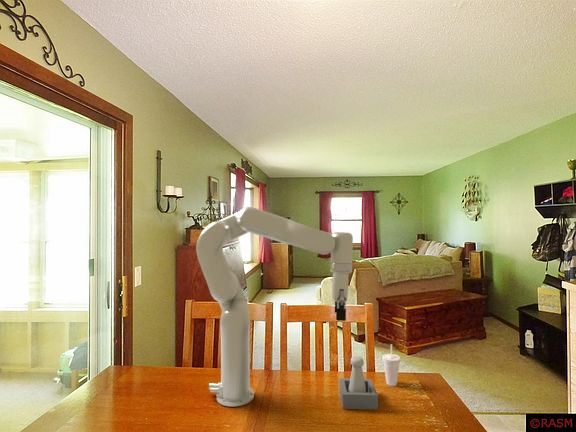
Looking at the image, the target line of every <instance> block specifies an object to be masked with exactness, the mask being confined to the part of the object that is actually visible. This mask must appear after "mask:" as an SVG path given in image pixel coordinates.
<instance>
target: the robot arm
mask: <svg viewBox="0 0 576 432" xmlns="http://www.w3.org/2000/svg"><path fill="white" fill-rule="evenodd" d="M248 233H251V234H254V235H256V236H260V237H264V238H267V239H269V240H273V241H276V242H279V243H281V244H285V245H289V246H294V247H297V248H300V249H304V250H307V251H310V252H314V253H316V254H319V255H329V254H330V267H329V268H330V269H329V270H330V272H331V273H333V274H332V285H331V286H332V287H331V290H332V291H331V292H332V293H331V298H332V301H333V302H334V313H335V314H336V316H335V317H336V318H335V319H336V321H337V322H338V321H341V322H343V321H345V322H346V320H347V308H346V307H347V306H346V303H347V302H348V298H349V296H348V295H349V274H351V273H352V272H353V243H354V242H353V241H354V240H353V239H354V238H353V235H352V233H350V232H342V231H339V232H338V231H336V232H327V231H324V230H320V229H317V228H314V227H312V226H309V225H306V224H302V223H299V222H296V221H294V220H293V219H289V218H287V217H285V216H284V217H283V216H280V215H278V214H274V213H271V212H268V211H265V210H262V209H258V208H256V207H253V206H246V207H244V208H242V209H241V210H239V211H238V212H237V211H236V212H235V213H234V214H231V215H229V216H227V217H224V218H221V219H220V220H216V221H213V222H211V223H209V224H208V225H207V226H205V228H204V229H203V230H202V231H201V233H200V235H199V237H198V239H197V242H196V248H195V249H196V256H197V260H198V263H199V266H200V268H201V271H202V274H203V277H204V278H205V281H206V284H207V287H208V290H209V293H210V295H211V297H212V298H213V299H214V300H215V301H217V302H218V305H219V307H220V309H221V314H220V319H219V321H220V322H219V325H220V327H219V329H220V382H218V383H215V382H213V383H212V382H211V383H210V382H209V385H208V390H209V391H210V393H216V401H217V403H218V404H219V405H222V406H225V407H229V408H230V407H231V408H232V407H233V408H234V407H241V406H244V405H247V404H249V403H250V402H252V401H253V399H254V397H255V391H254V389H253V388H252V387H250V386H251V385H250V381H251V380H250V372H251V371H250V324H251V323H250V320H251V319H250V308H249V304H248V301H247V298H246V296H245V294H244V292H243V288H242V286H241V284H240V281H239V279H238V277H237V276H236V274H235V273H234V272H233V271H231V270H230V267H229V265H228V262H227V259H226V257H225V255H224V249H223V248H224V246H225V245H226V244H228V243H229V242H231V241H233V240H235V239H237V238H239V237H242V236H244V235H246V234H248Z"/></svg>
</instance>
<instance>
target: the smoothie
mask: <svg viewBox="0 0 576 432" xmlns="http://www.w3.org/2000/svg"><path fill="white" fill-rule="evenodd" d="M381 359H382V361H383V368H384V375H385V383H386V385H387V386H390V387H396V386H397V384H398V379H399V377H398V376H399V369H400V363H401V357H400V356H399V355H398V354H394V353H393V344H391V343H390V353H385V354H383V355H382V358H381Z"/></svg>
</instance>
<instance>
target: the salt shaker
mask: <svg viewBox="0 0 576 432" xmlns="http://www.w3.org/2000/svg"><path fill="white" fill-rule="evenodd" d="M350 365H351V366H352V367H351V372H350V378H349V379H350V383H349V389H348V390H349V392H359V393H366V387H365V382H364V379H365V375H364V371H363V366H364V365H365V363H364V358H362V357H361V356H358V355H357V356H356V355H355V356H352V357H351V358H350Z"/></svg>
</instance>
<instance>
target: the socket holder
mask: <svg viewBox="0 0 576 432" xmlns="http://www.w3.org/2000/svg"><path fill="white" fill-rule="evenodd" d="M338 379H339V385H338V386H339V396H340V401H341V406H342V409H343V410H379V394H378V391H377V390H376V387H375V384H374V382H373V380H372V378H371V379H370V378H364V382H365V387H366V393H359V392H349V390H348V389H349V383H350V378H341V377H340V378H338Z"/></svg>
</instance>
